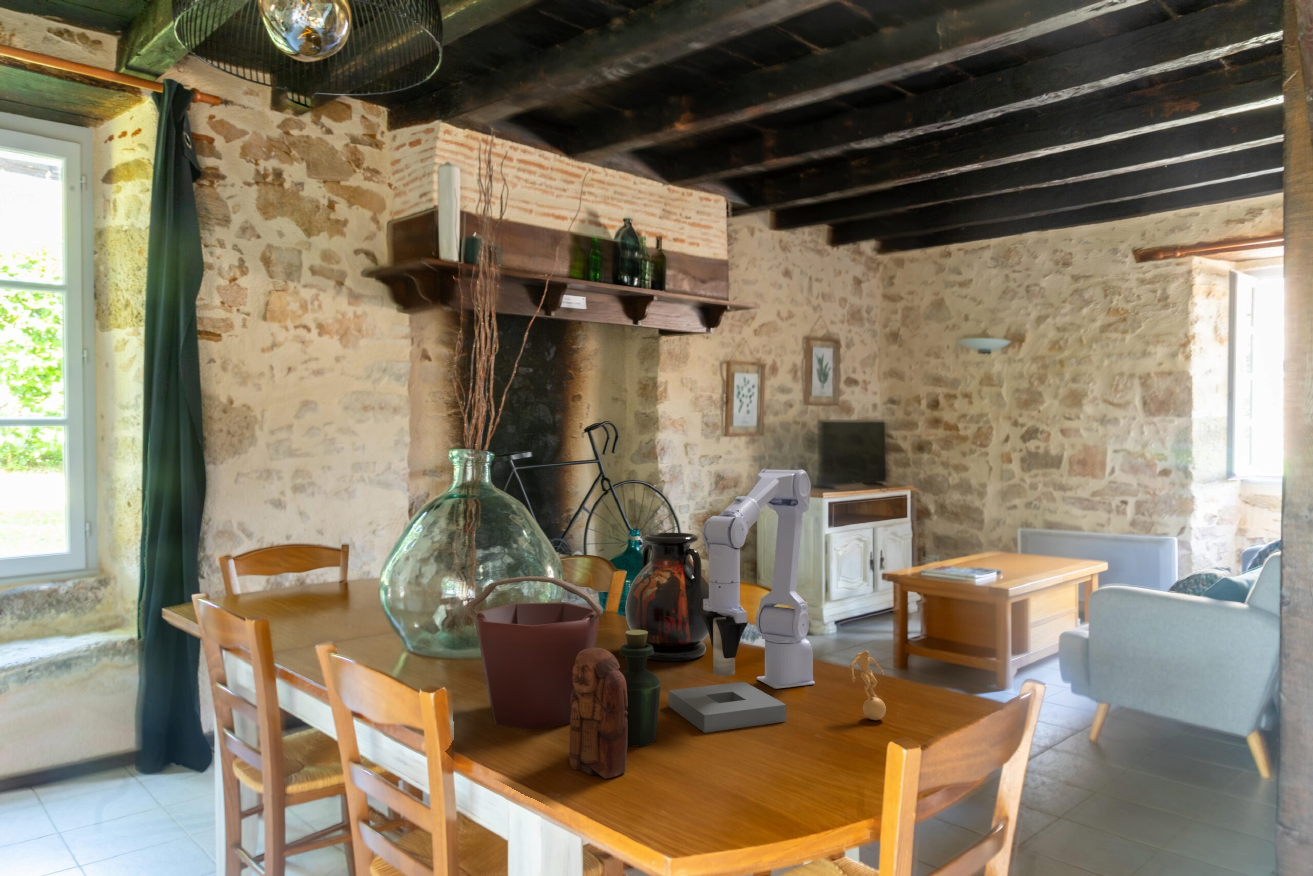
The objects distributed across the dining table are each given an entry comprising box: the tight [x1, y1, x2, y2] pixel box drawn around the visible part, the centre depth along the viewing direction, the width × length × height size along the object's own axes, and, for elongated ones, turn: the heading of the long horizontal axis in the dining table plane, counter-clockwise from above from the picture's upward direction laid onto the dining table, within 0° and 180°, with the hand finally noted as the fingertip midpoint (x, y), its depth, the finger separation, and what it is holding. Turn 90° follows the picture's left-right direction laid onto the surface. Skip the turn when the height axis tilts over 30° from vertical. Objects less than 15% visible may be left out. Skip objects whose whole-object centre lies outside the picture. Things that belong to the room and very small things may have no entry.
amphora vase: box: [624, 532, 710, 662], centre depth 203 cm, size 22×22×28 cm
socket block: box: [668, 681, 787, 734], centre depth 158 cm, size 16×16×3 cm
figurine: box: [849, 650, 887, 721], centre depth 156 cm, size 8×6×12 cm
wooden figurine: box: [568, 647, 628, 779], centre depth 132 cm, size 12×6×18 cm, turn 45°
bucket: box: [467, 575, 604, 731], centre depth 159 cm, size 24×22×25 cm
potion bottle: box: [618, 630, 662, 747], centre depth 144 cm, size 8×8×18 cm
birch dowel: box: [712, 617, 736, 677], centre depth 160 cm, size 4×4×10 cm
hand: (724, 655), depth 160 cm, fingers closed on birch dowel, 4 cm apart
